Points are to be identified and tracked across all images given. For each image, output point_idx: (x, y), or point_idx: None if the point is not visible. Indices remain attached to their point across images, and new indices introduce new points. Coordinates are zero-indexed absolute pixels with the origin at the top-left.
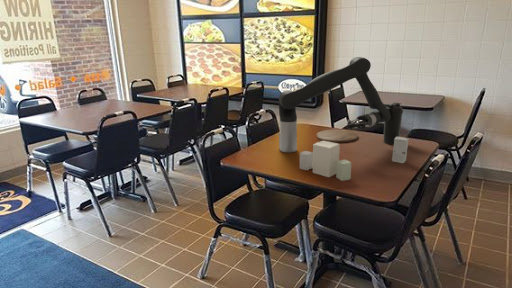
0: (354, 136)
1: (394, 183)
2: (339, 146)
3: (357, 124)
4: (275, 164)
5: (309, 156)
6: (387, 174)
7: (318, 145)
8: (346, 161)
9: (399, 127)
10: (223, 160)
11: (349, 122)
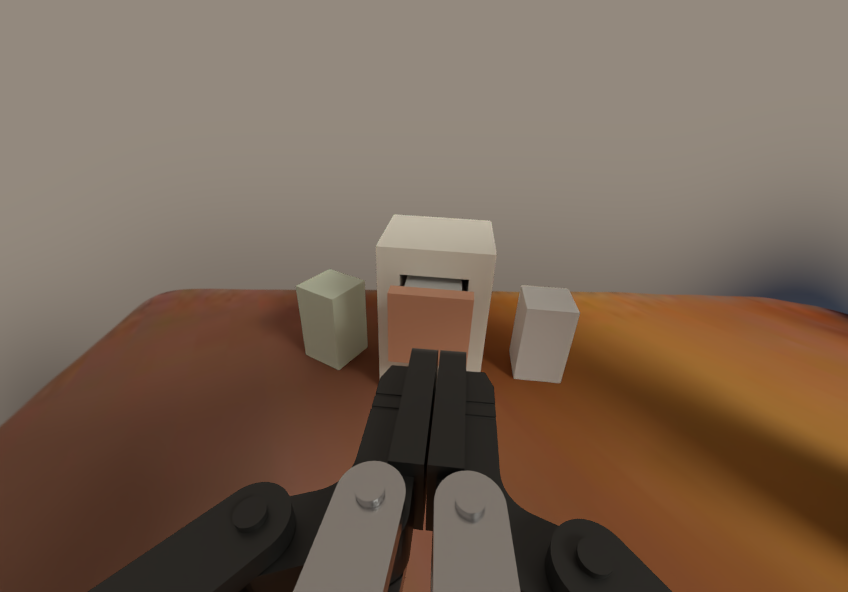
0: None
1: (88, 392)
2: (389, 289)
3: (301, 508)
4: (662, 347)
5: (521, 305)
6: (81, 482)
7: (459, 219)
8: (320, 287)
9: None
10: (811, 307)
11: (569, 526)
